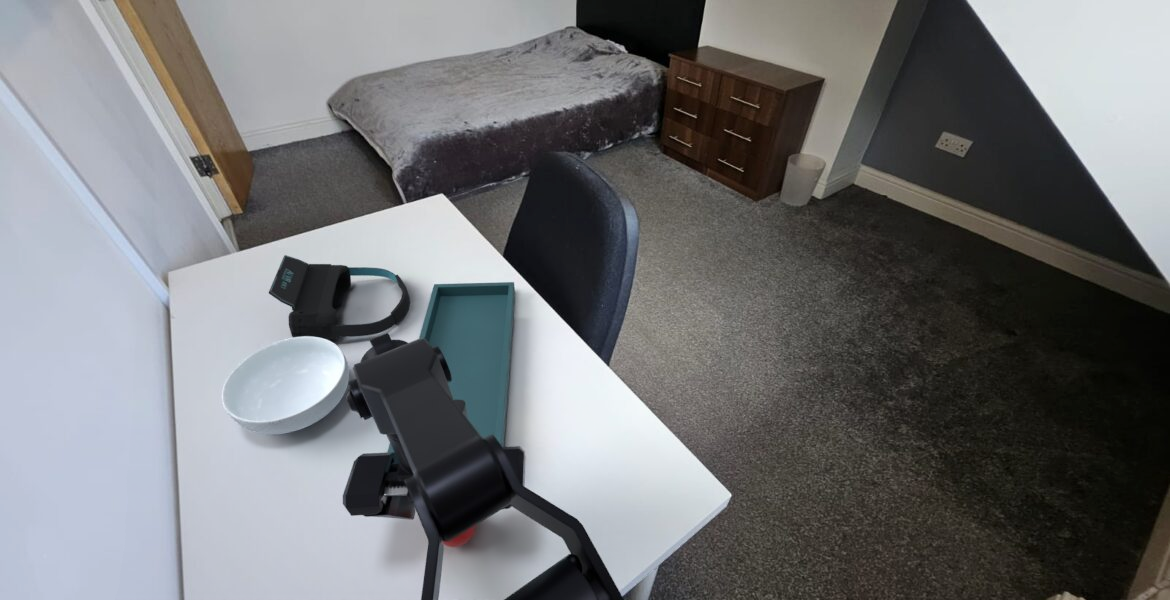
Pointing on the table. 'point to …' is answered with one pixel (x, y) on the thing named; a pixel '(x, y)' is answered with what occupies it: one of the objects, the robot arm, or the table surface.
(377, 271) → the virtual reality headset
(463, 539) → the apple
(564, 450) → the table surface
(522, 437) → the table surface
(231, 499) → the table surface
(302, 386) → the cereal bowl
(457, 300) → the tray
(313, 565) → the table surface
